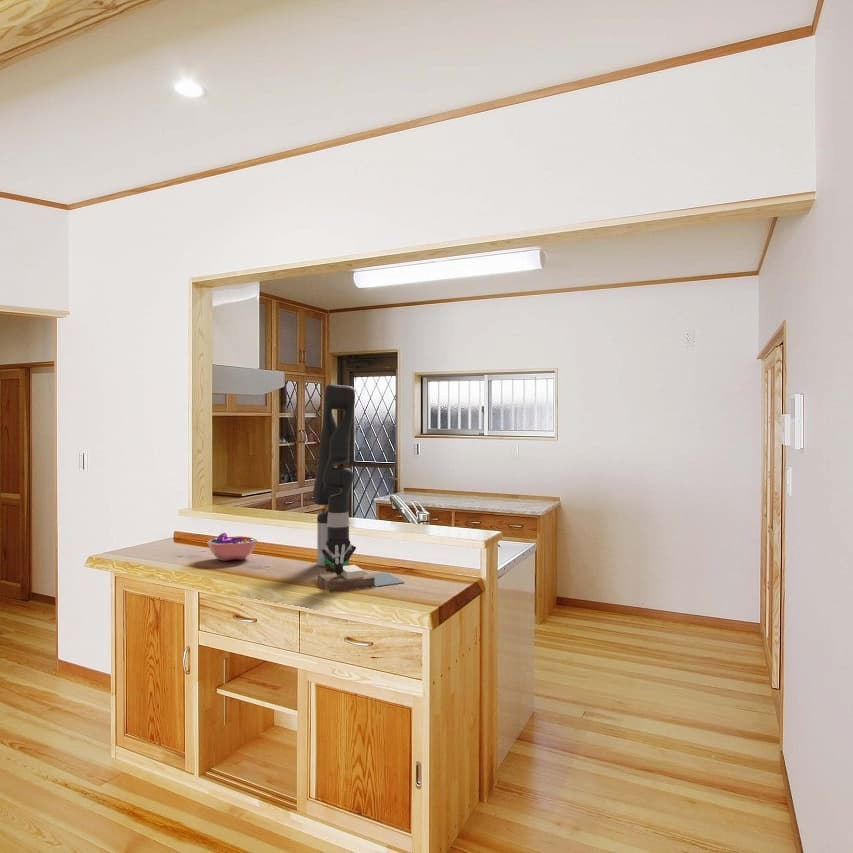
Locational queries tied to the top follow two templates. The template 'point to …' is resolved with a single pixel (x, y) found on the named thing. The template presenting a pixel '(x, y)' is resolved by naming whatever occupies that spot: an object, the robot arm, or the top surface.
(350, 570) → the tile
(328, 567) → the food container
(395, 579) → the mat
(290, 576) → the top surface
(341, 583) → the brown wooden board
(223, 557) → the cell model
